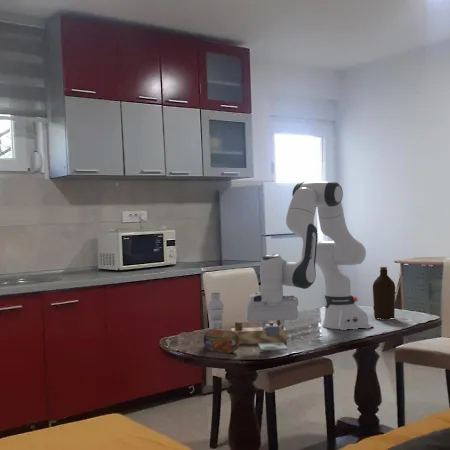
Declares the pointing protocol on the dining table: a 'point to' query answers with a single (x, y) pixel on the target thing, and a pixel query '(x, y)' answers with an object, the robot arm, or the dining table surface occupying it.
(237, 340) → the tin
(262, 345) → the mat
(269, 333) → the lever cap
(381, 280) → the olive oil
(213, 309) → the plastic bottle
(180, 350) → the dining table surface
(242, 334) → the body
